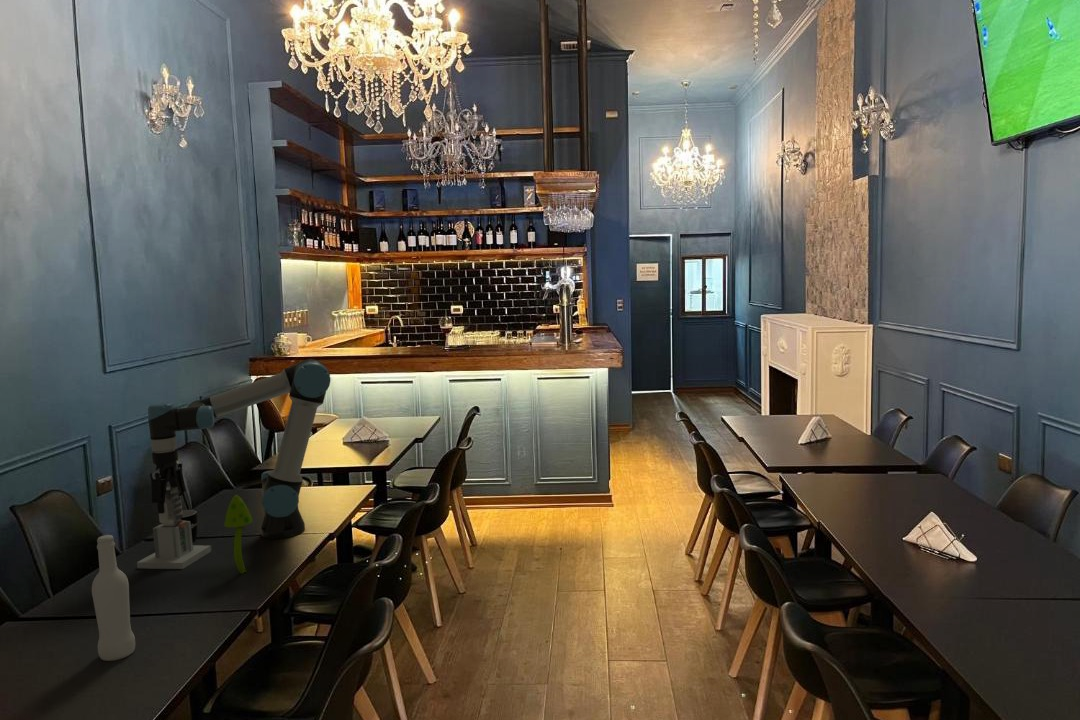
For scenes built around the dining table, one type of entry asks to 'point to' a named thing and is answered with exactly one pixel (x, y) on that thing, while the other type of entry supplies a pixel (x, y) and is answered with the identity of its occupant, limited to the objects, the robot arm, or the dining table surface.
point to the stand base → (173, 549)
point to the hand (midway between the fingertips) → (171, 518)
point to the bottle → (112, 605)
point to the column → (174, 511)
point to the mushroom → (238, 526)
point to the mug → (191, 521)
